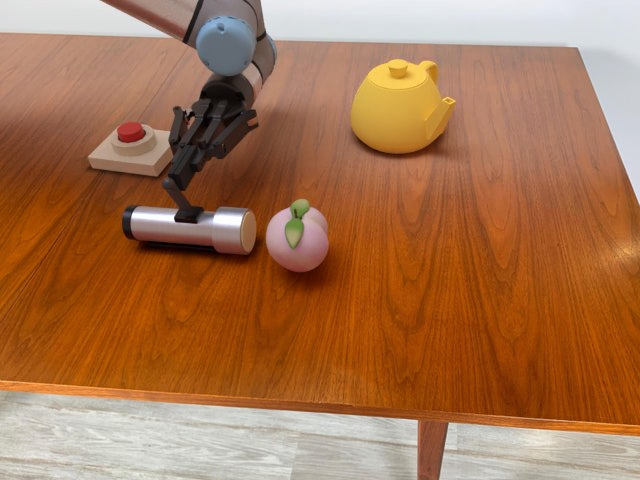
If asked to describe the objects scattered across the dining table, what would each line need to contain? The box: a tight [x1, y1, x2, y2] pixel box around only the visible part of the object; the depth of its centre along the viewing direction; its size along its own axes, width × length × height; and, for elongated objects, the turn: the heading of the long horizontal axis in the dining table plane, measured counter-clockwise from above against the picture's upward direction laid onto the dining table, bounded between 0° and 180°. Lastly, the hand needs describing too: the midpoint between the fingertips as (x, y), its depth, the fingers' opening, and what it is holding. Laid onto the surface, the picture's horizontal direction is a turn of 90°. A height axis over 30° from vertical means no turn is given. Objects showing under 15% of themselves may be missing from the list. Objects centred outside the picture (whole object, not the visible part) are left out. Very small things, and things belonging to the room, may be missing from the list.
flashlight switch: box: [161, 177, 192, 212], centre depth 76 cm, size 2×2×7 cm
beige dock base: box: [87, 123, 173, 177], centre depth 98 cm, size 12×10×4 cm
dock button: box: [116, 121, 145, 143], centre depth 96 cm, size 4×4×2 cm
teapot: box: [350, 58, 457, 155], centre depth 98 cm, size 20×19×13 cm
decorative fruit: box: [265, 198, 330, 273], centre depth 77 cm, size 9×8×10 cm
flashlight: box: [121, 204, 257, 256], centre depth 81 cm, size 17×6×6 cm, turn 82°
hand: (176, 182), depth 75 cm, fingers closed
